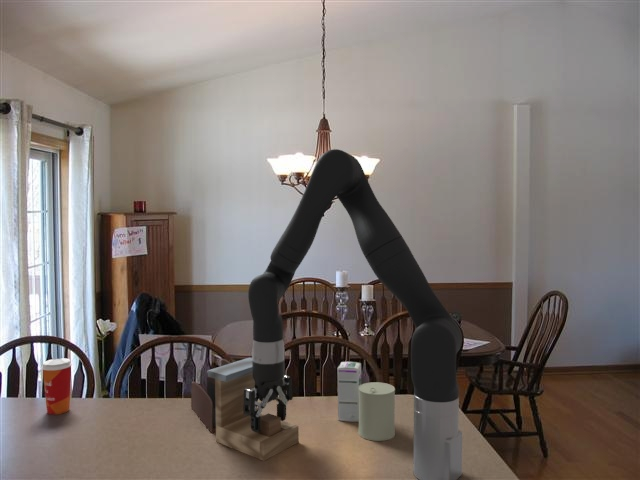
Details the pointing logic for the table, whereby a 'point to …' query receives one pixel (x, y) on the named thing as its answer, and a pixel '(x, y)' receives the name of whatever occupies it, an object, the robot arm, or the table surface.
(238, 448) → the socket stand
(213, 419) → the letter holder
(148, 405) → the table surface
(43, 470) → the table surface
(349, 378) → the syrup box
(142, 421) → the table surface
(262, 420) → the peg
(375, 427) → the can
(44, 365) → the paper cup
